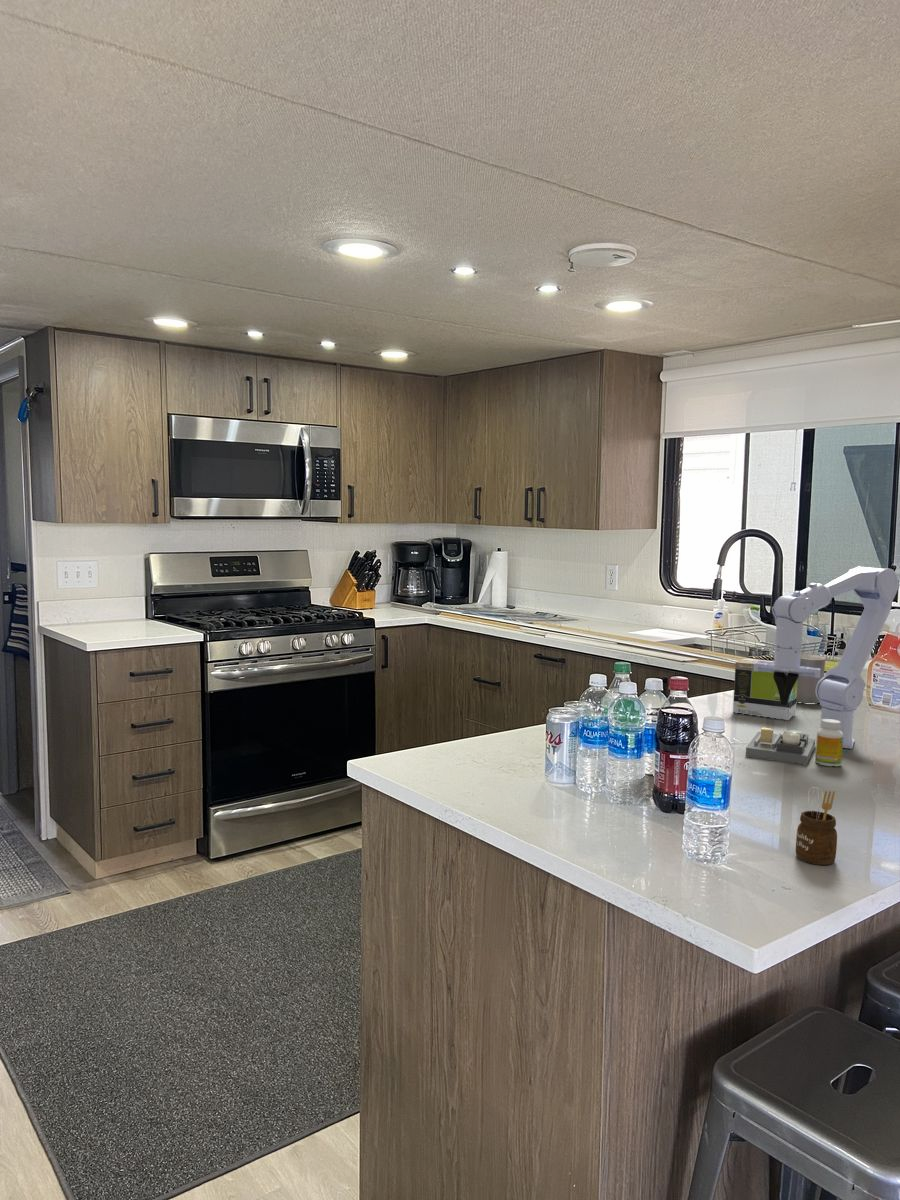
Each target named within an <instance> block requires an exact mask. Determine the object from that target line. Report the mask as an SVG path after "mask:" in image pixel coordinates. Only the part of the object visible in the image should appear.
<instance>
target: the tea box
mask: <svg viewBox="0 0 900 1200" xmlns="http://www.w3.org/2000/svg"><path fill="white" fill-rule="evenodd" d="M755 662H759V663H774V660H766V659H764V660H763V659H755V658H753V659H752V658H743V659H742V658H741V659H740V660H737V661H735V666H734V687H733V703H732V704H733V708H732V713H733V712H735V713H734V714H737V713H743V714H742V715H744V714H751V715H750V716H752V715H757V716H756V717H760V716H763V717H762V718H767V717H770V718H769V719H775V718H776V720H782V719H783V720H784V721H789V720H791V719H792V718H793V717H795V716H796V710H797V703H796V701H797V681H798V679H797V681H796V683H795V684H794V686H793V689H792V691H791V693H790V696H789V700H788V705H787V706H786V705H781V703H780V696H779V691H778V688H777V685H776V683H775V680H774V678H773V675H774V673H771V672H762V671H758V672H757V671H753V670H754V663H755ZM778 671H781V670H778ZM785 672H792V671H785ZM795 673H796V672H795ZM787 675H788V674H787ZM794 715H795V716H794ZM792 716H793V717H792ZM791 717H792V718H791ZM790 718H791V719H790Z"/></svg>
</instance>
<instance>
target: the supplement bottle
mask: <svg viewBox="0 0 900 1200" xmlns="http://www.w3.org/2000/svg"><path fill="white" fill-rule="evenodd" d="M820 724H821V726H822V728H821V729H820V728H819V729H818V730H817V732H816V739H815V755H814V756H815V760H814V761H815V763H816V764H818V765H820V766H825V767H832V766H835V767H840V766H841V765H842V760H843V748H842V747H843V733H842V732H841V731H840V730H839V728H840V726H841V722H840V721H838V720H833V719H822V720H821V719H820Z"/></svg>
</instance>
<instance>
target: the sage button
mask: <svg viewBox="0 0 900 1200" xmlns="http://www.w3.org/2000/svg"><path fill="white" fill-rule="evenodd" d="M786 732H788V733H796V734H799V735H800V738H803V734H804V732H803V731H800V730H786Z"/></svg>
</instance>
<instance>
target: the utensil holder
mask: <svg viewBox="0 0 900 1200" xmlns="http://www.w3.org/2000/svg"><path fill="white" fill-rule="evenodd" d="M815 788H816V790H817V791H819V788H818V786H813V787H811V788H810V789H809V790H808V793H807V804H808V805H810V801H809V796H810V795H809V794H810V791H811V790H812V792H811V793H814V790H815ZM820 791H821V794H822V795H821V796H822V797H821V798H822V803H821V808H820V806H819V805H817V811H816V810H814V808H812V810H811V809H810V808H811V807H810V806H808V807H809V810H805V811H803V812H801V814H800V817H799V819H800V820H799V821H800V823H799V824H798V826H797V830H796V840H795V855H796V857H797V859H799V860H800V861H802V862H804V863H808V864H812V865H817V866H829V865H832V864H833V863H835V861H836V857H837V847H838V833H837V829H836V826H837V819H836V817H835V816H833V815H832V814H829V813H828V811H830V810H832V808H833V804H834V800H835V795H836V793H835V792H836V791H832V792H831V791H830V790H829V791H827V790H826V791H824V793H823V792H822V790H820ZM831 793H832V794H831ZM819 795H820V794H819V792H817V798H820V796H819ZM811 803H812V807H814V801H811ZM819 808H820V811H819ZM822 810H823V811H822Z"/></svg>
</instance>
